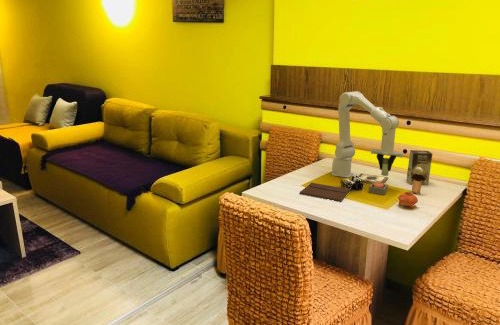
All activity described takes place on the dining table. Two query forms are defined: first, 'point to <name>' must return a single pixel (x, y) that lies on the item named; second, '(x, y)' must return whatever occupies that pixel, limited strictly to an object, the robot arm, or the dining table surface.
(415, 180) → the grandmother figurine
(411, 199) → the pot
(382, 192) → the button housing
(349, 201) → the dining table surface
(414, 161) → the coffee box
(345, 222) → the dining table surface
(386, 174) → the marker
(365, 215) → the dining table surface
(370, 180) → the brown picture frame
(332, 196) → the notebook
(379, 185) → the button
